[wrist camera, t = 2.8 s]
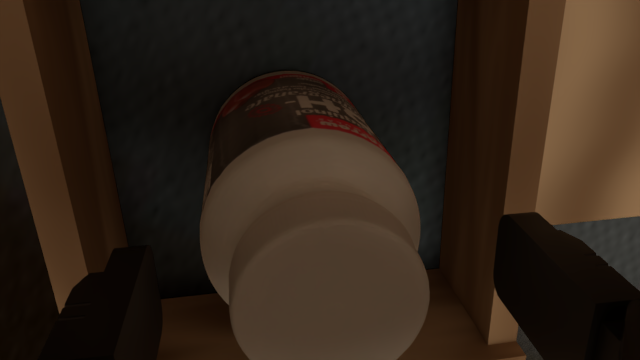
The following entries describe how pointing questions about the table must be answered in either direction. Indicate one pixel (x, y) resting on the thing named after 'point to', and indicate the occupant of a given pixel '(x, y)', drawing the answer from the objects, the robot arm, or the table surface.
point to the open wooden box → (210, 309)
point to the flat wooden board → (594, 116)
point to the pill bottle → (310, 226)
